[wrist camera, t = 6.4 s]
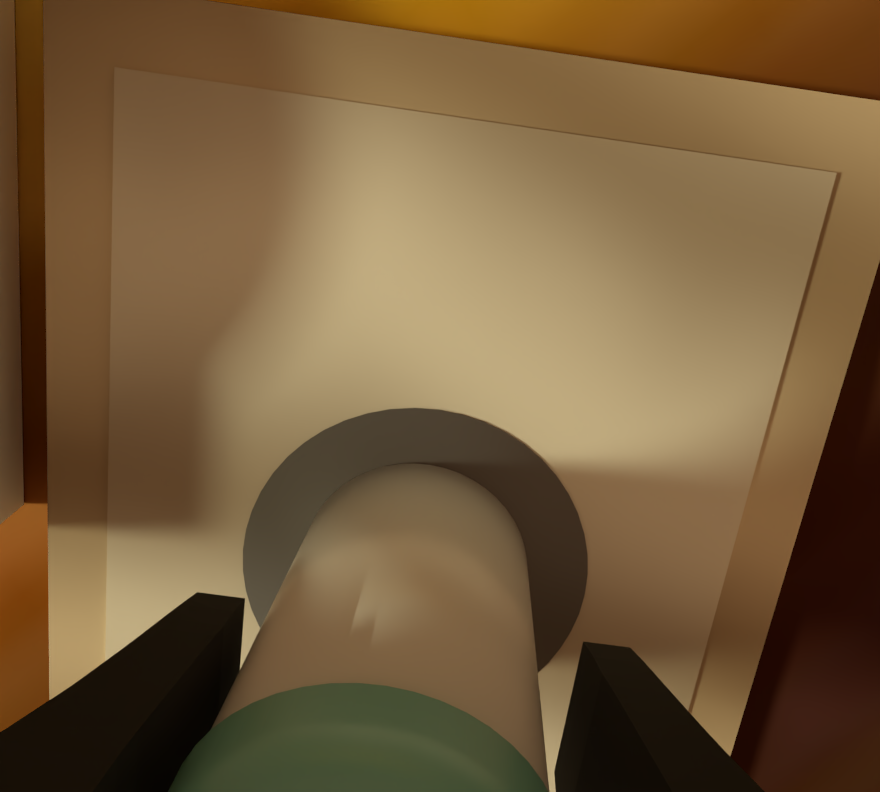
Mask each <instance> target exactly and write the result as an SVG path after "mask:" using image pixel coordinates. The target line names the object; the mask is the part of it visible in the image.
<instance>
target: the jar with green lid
mask: <svg viewBox="0 0 880 792" xmlns="http://www.w3.org/2000/svg"><path fill="white" fill-rule="evenodd" d="M168 792H549V782H548V772H547V762H546V752H545V742H544V731H543V721H542V711H541V701H540V691H539V680H538V670H537V660H536V650H535V640H534V629H533V619H532V609H531V599H530V588H529V578H528V568H527V558H526V553H525V547H524V543H523V540H522V537H521V534H520V532H519V530H518V528H517V526H516V523H515V521H514V520H513V518H512V517H511V515H510V514H509V512H508V511H507V509H506V508H505V507H504V506H503V505H502V503H501V502H500V501H499V500H498V499H497V498H496V497H495V496H494V495H493V494H492V493H490V492H489V491H488V490H487V489H486V488H484V487H483V486H481V485H480V484H478V483H477V482H475V481H474V480H472V479H470V478H468V477H466V476H464V475H462V474H460V473H458V472H455V471H452V470H449V469H446V468H442V467H438V466H433V465H426V464H415V463H412V464H396V465H389V466H384V467H380V468H377V469H373V470H370V471H368V472H366V473H363V474H361V475H359V476H357V477H355V478H353V479H352V480H350V481H348V482H347V483H345V484H344V485H342V486H341V487H340V488H339V489H337V490H336V491H335V492H334V493H333V494H332V495H331V496H330V497H329V498H328V499H327V500H326V501H325V502H324V504H323V505H322V507H321V508H320V510H319V511H318V512H317V514H316V516H315V518H314V520H313V522H312V524H311V526H310V528H309V530H308V532H307V534H306V536H305V538H304V540H303V542H302V544H301V546H300V548H299V550H298V553H297V555H296V557H295V559H294V561H293V563H292V565H291V567H290V569H289V571H288V573H287V575H286V577H285V579H284V581H283V583H282V585H281V587H280V589H279V591H278V593H277V595H276V597H275V599H274V602H273V604H272V606H271V608H270V610H269V612H268V614H267V616H266V618H265V620H264V622H263V624H262V626H261V628H260V630H259V632H258V634H257V636H256V638H255V640H254V642H253V644H252V646H251V648H250V651H249V653H248V655H247V657H246V659H245V661H244V663H243V665H242V667H241V669H240V671H239V673H238V675H237V677H236V679H235V681H234V683H233V685H232V687H231V689H230V691H229V693H228V695H227V697H226V700H225V702H224V704H223V706H222V708H221V710H220V712H219V714H218V716H217V718H216V720H215V722H214V724H213V726H212V728H211V730H210V731H209V732H208V733H207V734H206V735H205V736H204V737H203V738H202V739H201V740H200V741H199V742H198V743H197V744H196V745H195V747H194V748H193V749H192V751H191V752H190V753H189V755H188V756H187V758H186V759H185V760H184V762H183V763H182V765H181V767H180V769H179V771H178V773H177V775H176V777H175V779H174V781H173V783H172V785H171V787H170V789H169V790H168Z"/></svg>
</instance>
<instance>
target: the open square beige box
mask: <svg viewBox="0 0 880 792" xmlns="http://www.w3.org/2000/svg"><path fill="white" fill-rule="evenodd" d="M23 505H24V481H23V428H22V375H21V322H20V269H19V216H18V163H17V110H16V57H15V4H14V0H0V524H1V523H2V522H3V521H4V520H6V519H7V518H8V517H9V516H10V515H12V514H13V513H14V512H15V511H17V510H18V509H19V508H20V507H21V506H23Z"/></svg>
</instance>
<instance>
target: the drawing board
mask: <svg viewBox="0 0 880 792" xmlns="http://www.w3.org/2000/svg"><path fill="white" fill-rule="evenodd" d="M43 46H44V156H45V265H46V374H47V484H48V593H49V700H51V699H52V698H54V697H55V696H57V695H58V694H60V693H61V692H63V691H64V690H66V689H67V688H69V687H70V686H72V685H73V684H74V683H76V682H77V681H79V680H80V679H81V678H83V677H84V676H86V675H87V674H88V673H90V672H91V671H92V670H94V669H95V668H97V667H98V666H99V665H101V664H102V663H103V662H105V661H106V660H108V659H109V658H110V657H112V656H113V655H114V654H116V653H117V652H119V651H120V650H121V649H123V648H124V647H125V646H127V645H128V644H129V643H130V642H132V641H133V640H134V639H136V638H137V637H138V636H140V635H141V634H142V633H144V632H145V631H146V630H148V629H149V628H150V627H151V626H153V625H154V624H155V623H157V622H158V621H159V620H161V619H162V618H163V617H164V616H166V615H167V614H168V613H170V612H171V611H172V610H174V609H175V608H176V607H177V606H179V605H180V604H182V603H183V602H184V601H186V600H187V599H188V598H190V597H191V596H193V595H194V594H195V593H197V592H200V593H208V594H215V595H223V596H231V597H239V598H245V606H244V620H243V633H242V646H241V660H240V669H241V667H242V665H243V663H244V661H245V659H246V657H247V655H248V653H249V651H250V648H251V646H252V644H253V642H254V640H255V638H256V636H257V634H258V632H259V630H260V628H261V626H262V624H263V622H264V620H265V618H266V616H267V614H268V612H269V610H270V608H271V606H272V604H273V602H274V599H275V597H276V595H277V593H278V591H279V589H280V587H281V585H282V583H283V581H284V579H285V577H286V575H287V573H288V571H289V569H290V567H291V565H292V563H293V561H294V559H295V557H296V555H297V553H298V550H299V548H300V546H301V544H302V542H303V540H304V538H305V536H306V534H307V532H308V530H309V528H310V526H311V524H312V522H313V520H314V518H315V516H316V514H317V512H318V511H319V510H320V508H321V507H322V505H323V504H324V502H325V501H326V500H327V499H328V498H329V497H330V496H331V495H332V494H333V493H334V492H335V491H336V490H337V489H339V488H340V487H341V486H342V485H344V484H345V483H347V482H348V481H350V480H352V479H353V478H355V477H357V476H359V475H361V474H363V473H366V472H368V471H370V470H373V469H377V468H380V467H384V466H389V465H396V464H412V463H415V464H426V465H433V466H438V467H442V468H446V469H449V470H452V471H455V472H458V473H460V474H462V475H464V476H466V477H468V478H470V479H472V480H474V481H475V482H477V483H478V484H480V485H481V486H483V487H484V488H486V489H487V490H488V491H489V492H490V493H492V494H493V495H494V496H495V497H496V498H497V499H498V500H499V501H500V502H501V503H502V505H503V506H504V507H505V508H506V509H507V511H508V512H509V514H510V515H511V517H512V518H513V520H514V521H515V523H516V526H517V528H518V530H519V532H520V534H521V537H522V540H523V543H524V547H525V553H526V558H527V568H528V578H529V588H530V599H531V609H532V619H533V629H534V640H535V650H536V660H537V670H538V680H539V691H540V701H541V711H542V721H543V731H544V742H545V752H546V762H547V772H548V782H549V792H556V788H555V775H554V770H555V766H556V761H557V757H558V752H559V748H560V743H561V739H562V734H563V730H564V725H565V721H566V716H567V712H568V707H569V703H570V698H571V694H572V689H573V685H574V680H575V676H576V671H577V667H578V662H579V658H580V653H581V649H582V644H583V641H584V642H591V643H599V644H607V645H615V646H623V647H630V648H631V649H632V650H633V651H634V652H635V653H636V654H637V655H638V656H639V657H640V658H641V659H642V660H643V661H644V662H645V663H646V665H647V666H648V667H649V668H650V669H651V670H652V671H653V672H654V673H655V675H656V676H657V677H658V678H659V679H660V680H661V681H662V682H663V684H664V685H665V686H666V687H667V688H668V689H669V690H670V691H671V692H672V694H673V695H674V696H675V697H676V698H677V699H678V700H679V701H680V703H681V704H682V705H683V706H684V707H685V708H686V709H687V710H688V711H689V713H690V714H691V715H692V716H693V717H694V718H695V719H696V720H697V721H698V722H699V724H700V725H701V726H702V727H703V728H704V729H705V730H706V731H707V732H708V733H709V735H710V736H711V737H712V738H713V739H714V740H715V741H716V742H717V743H718V744H719V745H720V746H721V747H722V748H723V749H724V751H725V752H726V753H727V754H728V755H729V756H731V753H732V749H733V746H734V743H735V739H736V736H737V733H738V729H739V726H740V723H741V719H742V716H743V713H744V709H745V706H746V703H747V699H748V696H749V693H750V690H751V686H752V683H753V680H754V676H755V673H756V670H757V666H758V663H759V660H760V656H761V653H762V650H763V646H764V643H765V640H766V636H767V633H768V630H769V626H770V623H771V620H772V617H773V613H774V610H775V607H776V603H777V600H778V597H779V593H780V590H781V587H782V583H783V580H784V577H785V573H786V570H787V567H788V563H789V560H790V557H791V553H792V550H793V547H794V544H795V540H796V537H797V534H798V530H799V527H800V524H801V520H802V517H803V514H804V510H805V507H806V504H807V500H808V497H809V494H810V490H811V487H812V484H813V480H814V477H815V474H816V471H817V467H818V464H819V461H820V457H821V454H822V451H823V447H824V444H825V441H826V437H827V434H828V431H829V427H830V424H831V421H832V417H833V414H834V411H835V407H836V404H837V401H838V398H839V394H840V391H841V388H842V384H843V381H844V378H845V374H846V371H847V368H848V364H849V361H850V358H851V354H852V351H853V348H854V344H855V341H856V338H857V334H858V331H859V328H860V325H861V321H862V318H863V315H864V311H865V308H866V305H867V301H868V298H869V295H870V291H871V288H872V285H873V281H874V278H875V275H876V271H877V268H878V265H879V261H880V101H877V100H870V99H864V98H857V97H850V96H844V95H837V94H830V93H823V92H817V91H810V90H803V89H797V88H790V87H783V86H777V85H770V84H763V83H757V82H750V81H743V80H736V79H730V78H723V77H716V76H710V75H703V74H696V73H690V72H683V71H676V70H669V69H663V68H656V67H649V66H643V65H636V64H629V63H623V62H616V61H609V60H603V59H596V58H589V57H582V56H576V55H569V54H562V53H556V52H549V51H542V50H536V49H529V48H522V47H515V46H509V45H502V44H495V43H489V42H482V41H475V40H469V39H462V38H455V37H449V36H442V35H435V34H428V33H422V32H415V31H408V30H402V29H395V28H388V27H382V26H375V25H368V24H361V23H355V22H348V21H341V20H335V19H328V18H321V17H315V16H308V15H301V14H295V13H288V12H281V11H274V10H268V9H261V8H254V7H248V6H241V5H234V4H228V3H221V2H214V1H207V0H43Z"/></svg>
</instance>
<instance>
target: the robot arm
mask: <svg viewBox="0 0 880 792" xmlns="http://www.w3.org/2000/svg"><path fill="white" fill-rule="evenodd" d="M244 606H245V598H239V597H231V596H223V595H215V594H208V593H200V592H197V593H195V594H194V595H193V596H191V597H190V598H188V599H187V600H186V601H184V602H183V603H182V604H180V605H179V606H177V607H176V608H175V609H174V610H172V611H171V612H170V613H168V614H167V615H166V616H164V617H163V618H162V619H161V620H159V621H158V622H157V623H155V624H154V625H153V626H151V627H150V628H149V629H148V630H146V631H145V632H144V633H142V634H141V635H140V636H138V637H137V638H136V639H134V640H133V641H132V642H130V643H129V644H128V645H127V646H125V647H124V648H123V649H121V650H120V651H119V652H117V653H116V654H114V655H113V656H112V657H110V658H109V659H108V660H106V661H105V662H103V663H102V664H101V665H99V666H98V667H97V668H95V669H94V670H92V671H91V672H90V673H88V674H87V675H86V676H84V677H83V678H81V679H80V680H79V681H77V682H76V683H74V684H73V685H72V686H70V687H69V688H67V689H66V690H64V691H63V692H61V693H60V694H58V695H57V696H55V697H54V698H52V699H51V700H49V701H48V702H46V703H45V704H43V705H42V706H40V707H39V708H37V709H35V710H34V711H32V712H31V713H29V714H28V715H26V716H25V717H23V718H22V719H20V720H19V721H17V722H16V723H14V724H13V725H11V726H10V727H8V728H6V729H5V730H3V731H2V732H0V792H168V790H169V789H170V787H171V785H172V783H173V781H174V779H175V777H176V775H177V773H178V771H179V769H180V767H181V765H182V763H183V762H184V760H185V759H186V758H187V756H188V755H189V753H190V752H191V751H192V749H193V748H194V747H195V745H196V744H197V743H198V742H199V741H200V740H201V739H202V738H203V737H204V736H205V735H206V734H207V733H208V732H209V731H210V730H211V728H212V726H213V724H214V722H215V720H216V718H217V716H218V714H219V712H220V710H221V708H222V706H223V704H224V702H225V700H226V697H227V695H228V693H229V691H230V689H231V687H232V685H233V683H234V681H235V679H236V677H237V675H238V673H239V671H240V660H241V646H242V633H243V620H244ZM554 775H555V788H556V792H764V791H763V790H762V789H761V788H760V787H759V786H758V785H757V784H756V783H755V782H754V781H753V780H752V779H751V778H750V776H749V775H748V774H747V773H746V772H745V771H744V770H743V769H742V768H741V767H740V766H739V765H738V764H737V763H736V762H735V761H734V760H733V759H732V758H731V757H730V756H729V755H728V754H727V753H726V752H725V751H724V749H723V748H722V747H721V746H720V745H719V744H718V743H717V742H716V741H715V740H714V739H713V738H712V737H711V736H710V735H709V733H708V732H707V731H706V730H705V729H704V728H703V727H702V726H701V725H700V724H699V722H698V721H697V720H696V719H695V718H694V717H693V716H692V715H691V714H690V713H689V711H688V710H687V709H686V708H685V707H684V706H683V705H682V704H681V703H680V701H679V700H678V699H677V698H676V697H675V696H674V695H673V694H672V692H671V691H670V690H669V689H668V688H667V687H666V686H665V685H664V684H663V682H662V681H661V680H660V679H659V678H658V677H657V676H656V675H655V673H654V672H653V671H652V670H651V669H650V668H649V667H648V666H647V665H646V663H645V662H644V661H643V660H642V659H641V658H640V657H639V656H638V655H637V654H636V653H635V652H634V651H633V650H632V649H631V648H630V647H623V646H615V645H607V644H599V643H591V642H584V641H583V644H582V649H581V653H580V658H579V662H578V667H577V671H576V676H575V680H574V685H573V689H572V694H571V698H570V703H569V707H568V712H567V716H566V721H565V725H564V730H563V734H562V739H561V743H560V748H559V752H558V757H557V761H556V766H555V770H554Z"/></svg>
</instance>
